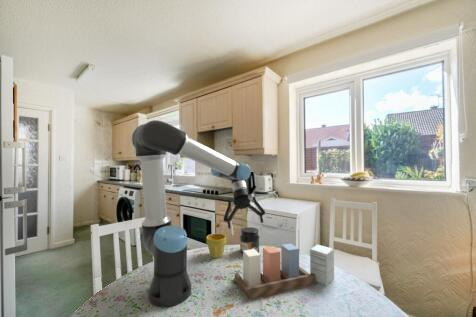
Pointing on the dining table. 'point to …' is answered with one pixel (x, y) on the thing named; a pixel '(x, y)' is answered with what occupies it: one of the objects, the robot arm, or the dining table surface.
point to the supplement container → (249, 239)
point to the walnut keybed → (276, 284)
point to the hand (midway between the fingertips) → (247, 232)
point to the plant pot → (216, 244)
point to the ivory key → (251, 267)
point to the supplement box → (322, 263)
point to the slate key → (290, 260)
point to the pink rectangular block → (271, 264)
